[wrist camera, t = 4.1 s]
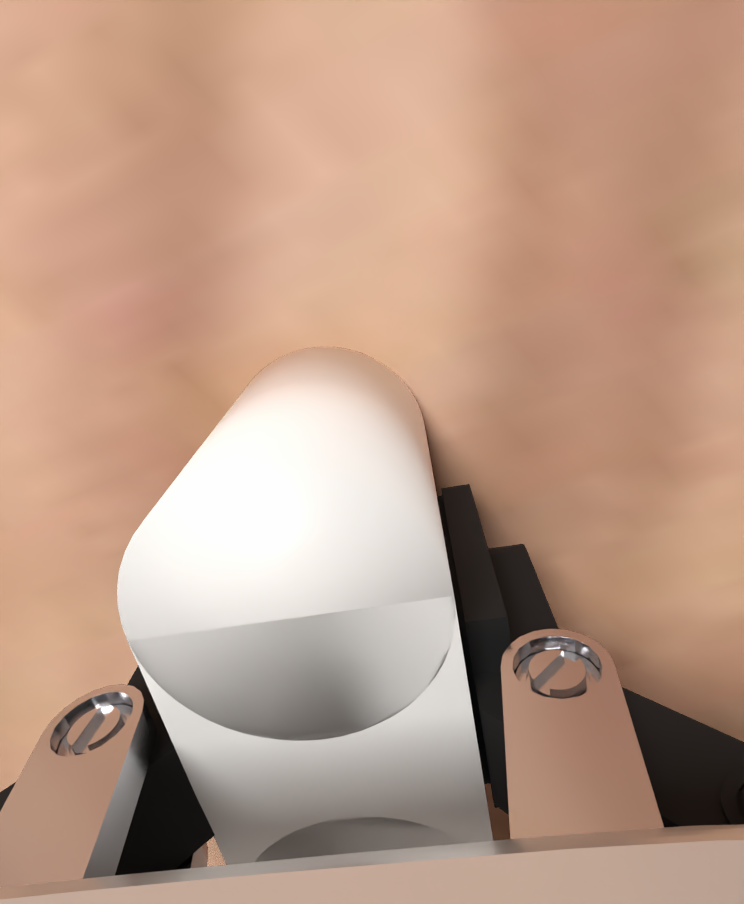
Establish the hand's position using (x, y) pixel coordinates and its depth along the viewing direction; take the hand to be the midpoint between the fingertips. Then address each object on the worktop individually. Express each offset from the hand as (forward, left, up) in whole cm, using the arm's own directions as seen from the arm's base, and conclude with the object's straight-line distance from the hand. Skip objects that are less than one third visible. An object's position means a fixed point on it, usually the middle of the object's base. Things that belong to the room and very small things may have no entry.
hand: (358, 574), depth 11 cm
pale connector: (0, 0, -1) cm, 1 cm away
